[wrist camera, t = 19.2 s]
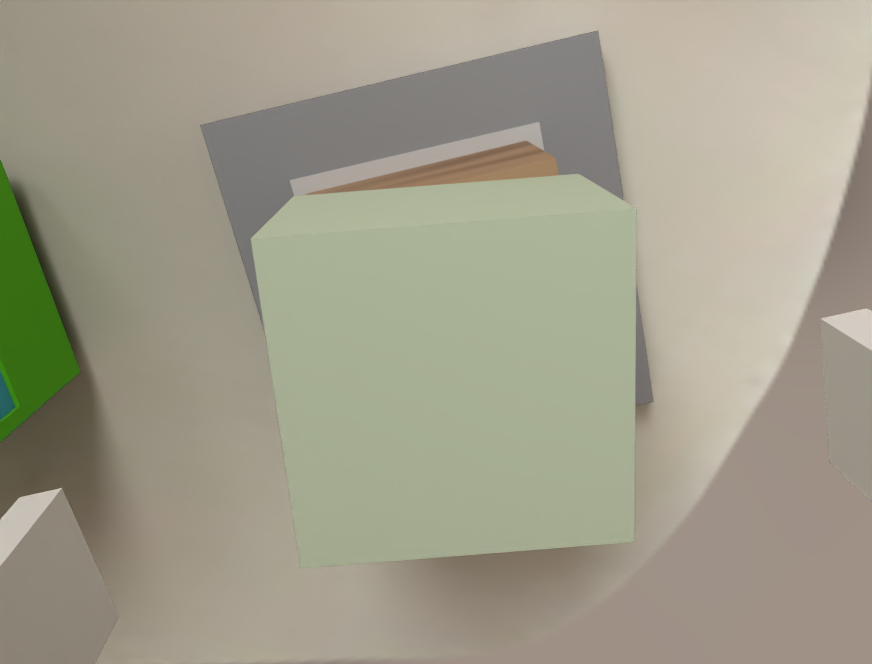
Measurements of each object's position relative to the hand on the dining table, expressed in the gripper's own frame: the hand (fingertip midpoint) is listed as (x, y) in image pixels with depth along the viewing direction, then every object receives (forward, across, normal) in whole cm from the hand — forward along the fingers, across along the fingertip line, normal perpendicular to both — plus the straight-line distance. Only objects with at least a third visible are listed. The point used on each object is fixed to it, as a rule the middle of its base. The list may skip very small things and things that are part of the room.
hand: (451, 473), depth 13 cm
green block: (+10, 0, -1) cm, 10 cm away
